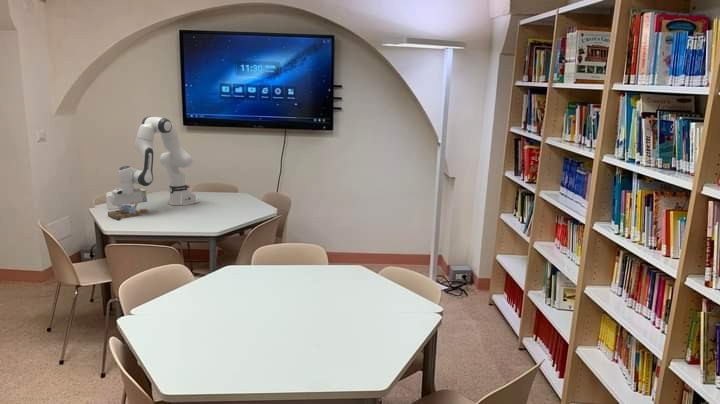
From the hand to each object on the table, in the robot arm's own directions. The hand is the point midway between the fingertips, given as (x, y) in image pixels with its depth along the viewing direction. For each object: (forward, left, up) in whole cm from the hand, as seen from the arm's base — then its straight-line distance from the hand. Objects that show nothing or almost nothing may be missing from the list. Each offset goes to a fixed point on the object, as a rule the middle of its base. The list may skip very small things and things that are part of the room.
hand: (128, 209), depth 350 cm
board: (+3, 0, -4) cm, 5 cm away
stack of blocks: (-18, -37, -4) cm, 41 cm away
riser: (-11, 0, -4) cm, 12 cm away
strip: (0, 0, -3) cm, 3 cm away
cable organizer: (-3, -25, -4) cm, 26 cm away
